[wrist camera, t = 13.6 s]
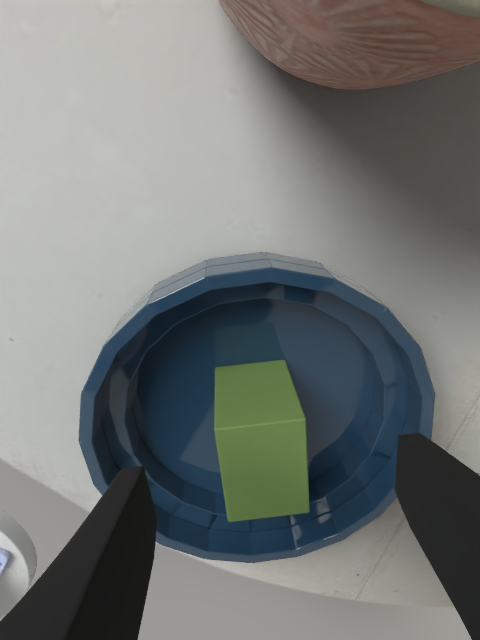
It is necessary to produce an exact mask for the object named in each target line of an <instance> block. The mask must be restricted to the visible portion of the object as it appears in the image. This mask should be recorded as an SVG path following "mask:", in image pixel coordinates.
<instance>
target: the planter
mask: <svg viewBox="0 0 480 640" xmlns="http://www.w3.org/2000/svg"><path fill="white" fill-rule="evenodd" d="M218 1H219V2H220V4H221V6H222V7H223V9H224V11H225V12H226V14H227V15H228V17H229V18H230V19H231V21H232V22H233V24H234V25H235V26H236V28H237V29H238V30H239V32H240V33H241V34H242V35H243V36H244V37H245V38H246V40H247V41H248V42H249V43H250V44H251V45H252V46H253V47H254V48H255V49H256V50H257V51H259V52H260V53H261V54H262V55H263V56H264V57H265V58H267V59H268V60H269V61H271V62H272V63H274V64H275V65H276V66H278V67H279V68H281V69H283V70H284V71H286V72H288V73H290V74H292V75H293V76H296V77H298V78H301V79H303V80H305V81H308V82H311V83H315V84H318V85H322V86H326V87H332V88H339V89H358V90H361V89H372V88H382V87H390V86H395V85H400V84H404V83H409V82H413V81H418V80H421V79H425V78H429V77H432V76H436V75H439V74H443V73H446V72H449V71H452V70H455V69H458V68H461V67H464V66H467V65H470V64H473V63H477V62H480V0H218Z"/></svg>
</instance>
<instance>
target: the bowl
mask: <svg viewBox="0 0 480 640" xmlns="http://www.w3.org/2000/svg"><path fill="white" fill-rule="evenodd" d="M275 360H285V361H286V363H287V366H288V369H289V372H290V375H291V378H292V380H293V383H294V386H295V389H296V392H297V395H298V398H299V400H300V403H301V406H302V409H303V412H304V415H305V418H306V427H307V454H308V482H309V509H310V511H309V513H303V514H294V515H286V516H277V517H269V518H260V519H252V520H243V521H235V522H228V519H227V512H226V506H225V499H224V492H223V486H222V479H221V472H220V465H219V459H218V452H217V445H216V439H215V432H214V405H215V368H216V367H221V366H230V365H239V364H248V363H257V362H266V361H275ZM434 401H435V392H434V389H433V386H432V382H431V379H430V376H429V373H428V370H427V366H426V363H425V360H424V357H423V353H422V350H421V348H420V346H419V345H418V344H417V343H416V342H415V340H414V339H413V338H412V337H411V336H410V334H409V333H408V332H407V331H406V330H405V328H404V327H403V326H402V325H401V324H400V322H399V321H398V320H397V319H396V317H395V316H394V315H393V314H392V313H391V311H390V310H389V309H388V308H387V307H386V306H385V305H383V304H382V303H381V302H380V301H379V300H377V299H376V298H375V297H374V296H372V295H371V294H370V293H369V292H368V291H366V290H365V289H364V288H363V287H362V286H360V285H358V284H356V283H355V282H353V281H351V280H349V279H347V278H346V277H344V276H342V275H340V274H339V273H337V272H335V271H333V270H332V269H330V268H328V267H326V266H324V265H323V264H321V263H318V262H316V261H310V260H305V259H299V258H294V257H289V256H283V255H278V254H272V253H267V252H265V253H264V252H259V253H251V254H244V255H236V256H229V257H221V258H214V259H208V260H205V261H203V262H201V263H199V264H197V265H194V266H192V267H190V268H188V269H186V270H184V271H182V272H180V273H178V274H176V275H173V276H171V277H169V278H167V279H165V280H163V281H161V282H159V283H158V284H156V285H155V286H154V287H153V288H152V289H151V290H150V291H149V292H148V293H147V294H146V295H145V296H144V297H143V298H142V299H141V300H140V301H139V302H138V303H136V304H135V305H134V306H133V307H132V308H131V309H130V310H129V311H128V312H127V313H126V314H125V315H124V316H123V317H122V318H121V319H120V321H119V322H118V324H117V325H116V327H115V328H114V330H113V332H112V333H111V335H110V336H109V338H108V340H107V341H106V343H105V344H104V346H103V348H102V350H101V352H100V354H99V356H98V358H97V361H96V363H95V365H94V367H93V369H92V371H91V373H90V375H89V378H88V380H87V382H86V384H85V386H84V388H83V390H82V394H81V404H80V424H79V444H80V447H81V450H82V452H83V455H84V458H85V461H86V464H87V467H88V470H89V472H90V475H91V478H92V481H93V484H94V485H95V487H96V488H97V489H98V491H99V492H100V493H101V494H102V495H103V494H104V493H105V492H106V490H107V489H108V487H109V486H110V484H111V483H112V481H113V480H114V479H115V477H116V476H117V474H118V473H119V472H120V470H121V469H122V468H130V467H138V466H144V469H145V473H146V476H147V480H148V484H149V488H150V492H151V496H152V500H153V504H154V508H155V512H156V516H157V530H156V542H157V543H159V544H161V545H163V546H166V547H169V548H172V549H175V550H179V551H182V552H185V553H188V554H191V555H194V556H197V557H200V558H203V559H210V560H222V561H234V562H246V563H251V562H252V563H256V562H263V561H270V560H278V559H285V558H292V557H298V556H302V555H304V554H307V553H310V552H312V551H315V550H318V549H321V548H323V547H326V546H329V545H331V544H334V543H337V542H340V541H342V540H344V539H346V538H347V537H349V536H350V535H352V534H353V533H355V532H356V531H358V530H359V529H361V528H362V527H364V526H365V525H367V524H368V523H370V522H371V521H373V520H375V519H376V518H378V517H379V516H381V514H383V513H384V511H385V510H386V509H387V508H388V507H389V506H390V505H391V504H392V502H393V501H394V500H395V499H396V498H397V495H396V492H395V477H396V461H397V446H398V435H403V434H412V433H421V434H423V435H424V436H425V437H427V438H428V439H430V440H431V436H432V424H433V413H434Z"/></svg>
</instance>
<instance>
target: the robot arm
mask: <svg viewBox="0 0 480 640" xmlns="http://www.w3.org/2000/svg"><path fill="white" fill-rule="evenodd" d="M395 492H396V495H397V497H398V500H399V502H400V505H401V507H402V509H403V512H404V514H405V516H406V519H407V521H408V523H409V526H410V528H411V529H412V531H413V533H414V535H415V537H416V539H417V540H418V542H419V544H420V546H421V548H422V549H423V551H424V553H425V555H426V557H427V558H428V560H429V562H430V564H431V565H432V567H433V569H434V571H435V573H436V574H437V576H438V578H439V580H440V581H441V583H442V585H443V587H444V589H445V590H446V592H447V594H448V596H449V597H450V599H451V601H452V603H453V605H454V606H455V608H456V610H457V612H458V613H459V615H460V617H461V619H462V621H463V623H464V625H465V627H466V629H467V631H468V633H469V635H470V636H471V639H472V640H480V475H478V474H477V473H475V472H474V471H472V470H471V469H470V468H468V467H467V466H465V465H464V464H463V463H461V462H460V461H458V460H457V459H456V458H454V457H453V456H452V455H450V454H449V453H447V452H446V451H445V450H443V449H442V448H441V447H439V446H438V445H437V444H435V443H434V442H432V441H431V440H430V439H428V438H427V437H425V436H424V435H423V434H421V433H412V434H403V435H398V446H397V461H396V477H395ZM156 530H157V516H156V512H155V508H154V504H153V500H152V496H151V492H150V488H149V484H148V480H147V476H146V473H145V469H144V466H138V467H130V468H122V469H121V470H120V472H119V473H118V474H117V476H116V477H115V479H114V480H113V481H112V483H111V484H110V486H109V487H108V489H107V490H106V492H105V493H104V494H103V496H102V497H101V499H100V500H99V502H98V503H97V504H96V506H95V507H94V509H93V510H92V511H91V513H90V514H89V515H88V517H87V518H86V520H85V521H84V522H83V524H82V525H81V526H80V528H79V529H78V530H77V532H76V533H75V535H74V536H73V537H72V538H71V540H70V541H69V542H68V543H67V545H66V546H65V547H64V549H63V550H62V551H61V553H59V555H58V556H57V557H56V559H55V560H54V561H53V562H52V563H51V565H50V566H49V567H48V568H47V570H46V571H45V572H44V573H43V574H42V576H41V577H40V578H39V579H38V580H37V581H36V583H35V584H34V585H33V586H32V587H31V588H30V590H29V591H28V592H27V593H26V594H25V595H24V596H23V597H22V599H21V600H20V601H19V602H18V603H17V604H16V605H15V606H14V607H13V608H12V609H11V611H10V612H9V613H8V614H7V615H6V616H5V617H4V618H3V619H2V620H1V621H0V640H137V639H138V634H139V629H140V624H141V620H142V615H143V610H144V605H145V600H146V595H147V590H148V585H149V580H150V575H151V570H152V565H153V559H154V550H155V541H156ZM9 558H10V552H9V551H7V550H5V549H2V548H0V577H1V575H2V573H3V571H4V569H5V567H6V565H7V562H8V560H9Z"/></svg>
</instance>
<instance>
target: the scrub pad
mask: <svg viewBox="0 0 480 640" xmlns="http://www.w3.org/2000/svg"><path fill="white" fill-rule="evenodd" d="M214 432H215V439H216V445H217V452H218V459H219V465H220V472H221V479H222V486H223V492H224V499H225V506H226V512H227V519H228V522H235V521H243V520H252V519H260V518H269V517H277V516H286V515H294V514H303V513H309V511H310V509H309V482H308V454H307V427H306V418H305V415H304V412H303V409H302V406H301V403H300V400H299V398H298V395H297V392H296V389H295V386H294V383H293V380H292V378H291V375H290V372H289V369H288V366H287V363H286V361H285V360H275V361H266V362H257V363H248V364H239V365H230V366H221V367H216V368H215V405H214Z"/></svg>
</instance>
